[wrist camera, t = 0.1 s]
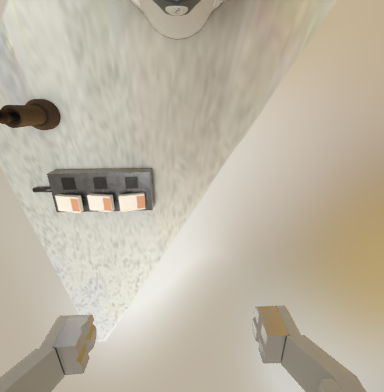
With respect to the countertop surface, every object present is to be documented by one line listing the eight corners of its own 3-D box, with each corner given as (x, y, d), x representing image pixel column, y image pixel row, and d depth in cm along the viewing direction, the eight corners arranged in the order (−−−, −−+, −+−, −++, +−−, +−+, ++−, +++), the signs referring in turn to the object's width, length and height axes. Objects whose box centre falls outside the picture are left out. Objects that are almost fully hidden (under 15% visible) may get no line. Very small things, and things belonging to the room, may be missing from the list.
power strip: (31, 169, 56) (18, 175, 51) (151, 168, 57) (149, 173, 53) (41, 206, 59) (30, 214, 55) (154, 203, 61) (152, 211, 56)
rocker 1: (58, 194, 54) (54, 196, 53) (80, 195, 53) (76, 197, 52) (62, 208, 55) (58, 211, 54) (83, 210, 54) (80, 213, 53)
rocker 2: (118, 194, 53) (118, 196, 52) (143, 192, 55) (144, 194, 54) (120, 209, 55) (120, 212, 53) (145, 207, 56) (145, 209, 55)
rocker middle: (89, 193, 54) (86, 195, 53) (112, 194, 53) (109, 196, 52) (92, 208, 56) (89, 210, 54) (114, 210, 55) (112, 212, 53)
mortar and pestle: (39, 132, 53) (-27, 144, 36) (24, 104, 50) (-54, 102, 34) (65, 124, 52) (10, 132, 36) (51, 95, 50) (-14, 89, 33)
